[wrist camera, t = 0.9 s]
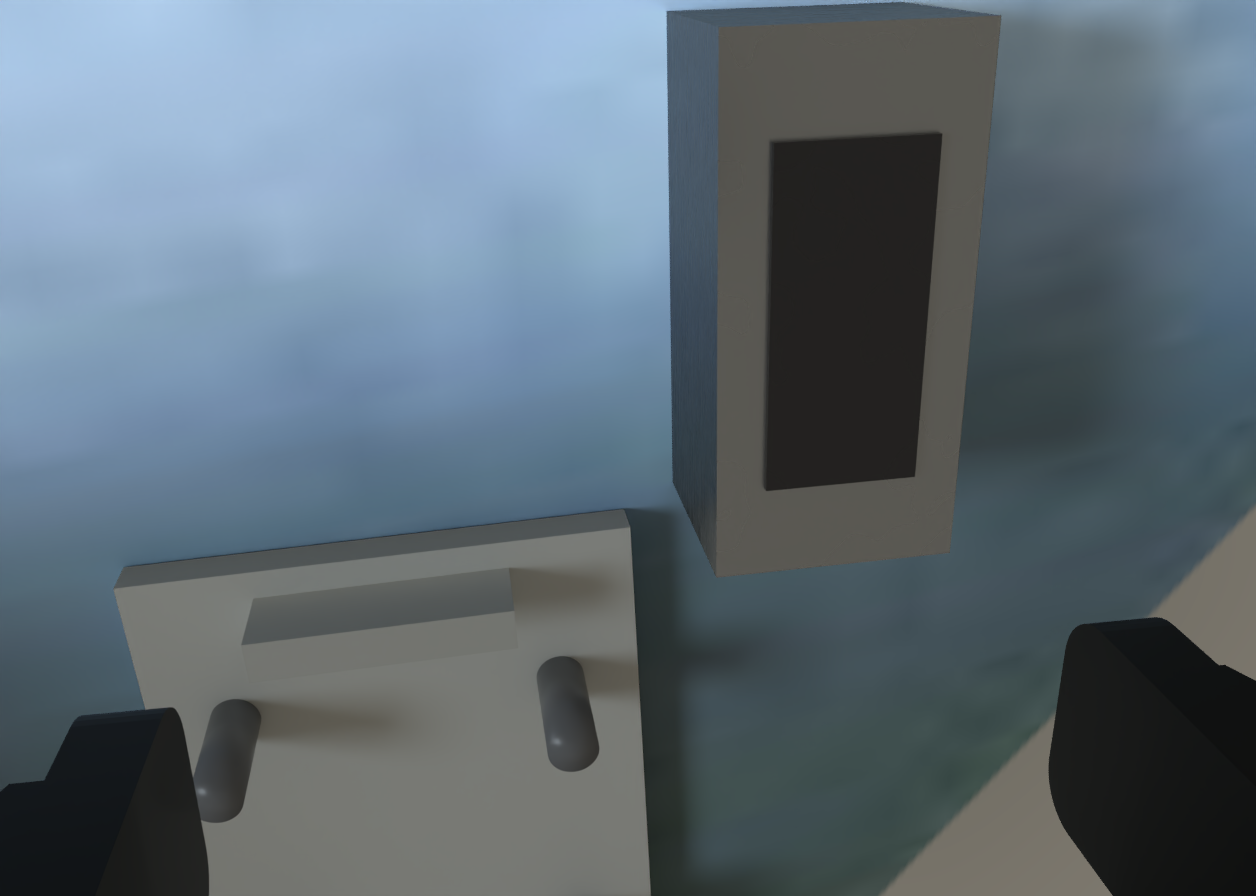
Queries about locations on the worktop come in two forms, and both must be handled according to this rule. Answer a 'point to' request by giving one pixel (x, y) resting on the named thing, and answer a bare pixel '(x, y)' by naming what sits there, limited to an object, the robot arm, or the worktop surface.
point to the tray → (408, 710)
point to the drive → (823, 274)
